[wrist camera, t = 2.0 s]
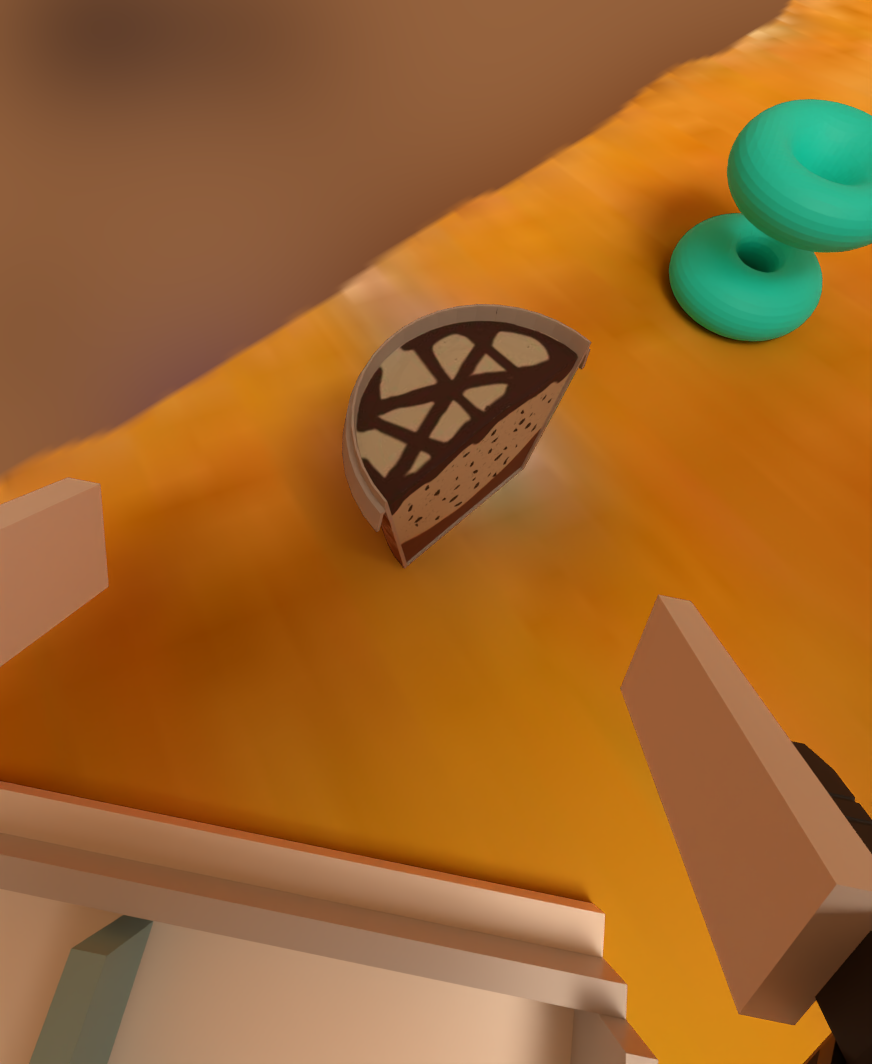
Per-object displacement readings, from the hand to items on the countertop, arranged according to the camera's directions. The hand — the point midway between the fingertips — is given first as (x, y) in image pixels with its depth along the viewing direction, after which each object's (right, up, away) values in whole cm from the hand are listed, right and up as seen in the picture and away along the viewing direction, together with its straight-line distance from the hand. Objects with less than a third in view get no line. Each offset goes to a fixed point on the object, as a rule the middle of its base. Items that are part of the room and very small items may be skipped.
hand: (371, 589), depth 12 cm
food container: (+1, +4, +18) cm, 19 cm away
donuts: (+22, +18, +25) cm, 38 cm away
